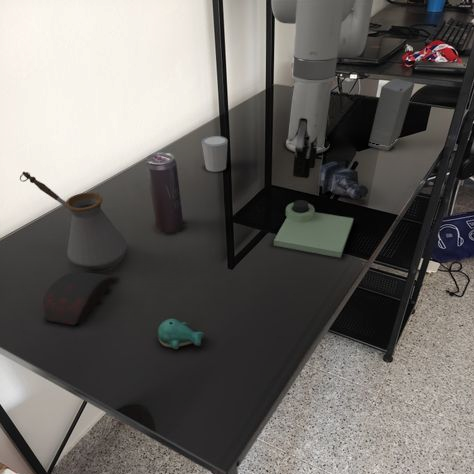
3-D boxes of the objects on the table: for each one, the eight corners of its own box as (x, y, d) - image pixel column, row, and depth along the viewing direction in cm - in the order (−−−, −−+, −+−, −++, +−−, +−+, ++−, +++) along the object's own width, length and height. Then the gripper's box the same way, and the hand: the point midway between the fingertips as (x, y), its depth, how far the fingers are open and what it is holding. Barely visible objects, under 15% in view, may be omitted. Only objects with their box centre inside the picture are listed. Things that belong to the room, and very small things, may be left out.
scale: (289, 212, 99) (290, 200, 97) (353, 222, 95) (355, 210, 93) (271, 245, 90) (271, 232, 87) (340, 258, 86) (343, 245, 84)
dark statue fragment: (358, 209, 100) (363, 182, 95) (314, 190, 106) (317, 164, 102) (374, 200, 103) (380, 173, 98) (330, 182, 109) (334, 156, 105)
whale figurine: (167, 325, 73) (164, 308, 70) (208, 332, 72) (206, 315, 69) (153, 349, 69) (150, 332, 66) (197, 357, 68) (195, 340, 65)
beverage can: (172, 216, 98) (163, 149, 88) (188, 226, 95) (181, 157, 85) (151, 226, 96) (139, 158, 85) (167, 236, 93) (157, 166, 82)
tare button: (295, 205, 96) (295, 198, 95) (309, 207, 95) (309, 201, 94) (291, 212, 94) (291, 205, 93) (305, 214, 93) (306, 208, 92)
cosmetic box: (378, 137, 130) (391, 77, 118) (401, 142, 127) (416, 81, 115) (366, 146, 125) (378, 84, 114) (390, 152, 122) (405, 89, 111)
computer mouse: (40, 320, 74) (32, 302, 71) (80, 274, 83) (74, 256, 81) (82, 327, 73) (75, 309, 70) (118, 280, 82) (113, 262, 79)
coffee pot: (141, 254, 88) (126, 183, 77) (102, 284, 81) (79, 211, 70) (67, 228, 96) (44, 159, 85) (26, 253, 89) (-5, 182, 78)
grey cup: (225, 173, 114) (224, 146, 109) (200, 171, 115) (198, 144, 110) (231, 163, 119) (230, 136, 113) (206, 161, 120) (205, 134, 115)
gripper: (304, 55, 82) (296, 154, 95) (279, 79, 71) (274, 186, 84) (344, 58, 80) (330, 158, 93) (325, 83, 69) (312, 192, 82)
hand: (304, 170), depth 88 cm, fingers open, 4 cm apart
